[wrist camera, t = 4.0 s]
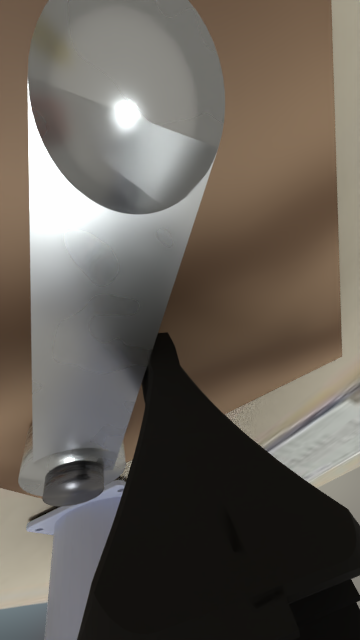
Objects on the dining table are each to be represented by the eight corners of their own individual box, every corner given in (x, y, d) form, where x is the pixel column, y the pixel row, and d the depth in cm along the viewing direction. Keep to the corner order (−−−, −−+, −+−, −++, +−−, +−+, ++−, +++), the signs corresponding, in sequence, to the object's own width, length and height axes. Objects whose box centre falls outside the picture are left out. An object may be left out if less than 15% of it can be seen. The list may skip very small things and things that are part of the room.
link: (114, 451, 14) (118, 505, 12) (27, 459, 12) (16, 523, 11) (235, 61, 5) (309, 40, 4) (9, -58, 4) (-63, -198, 2)
